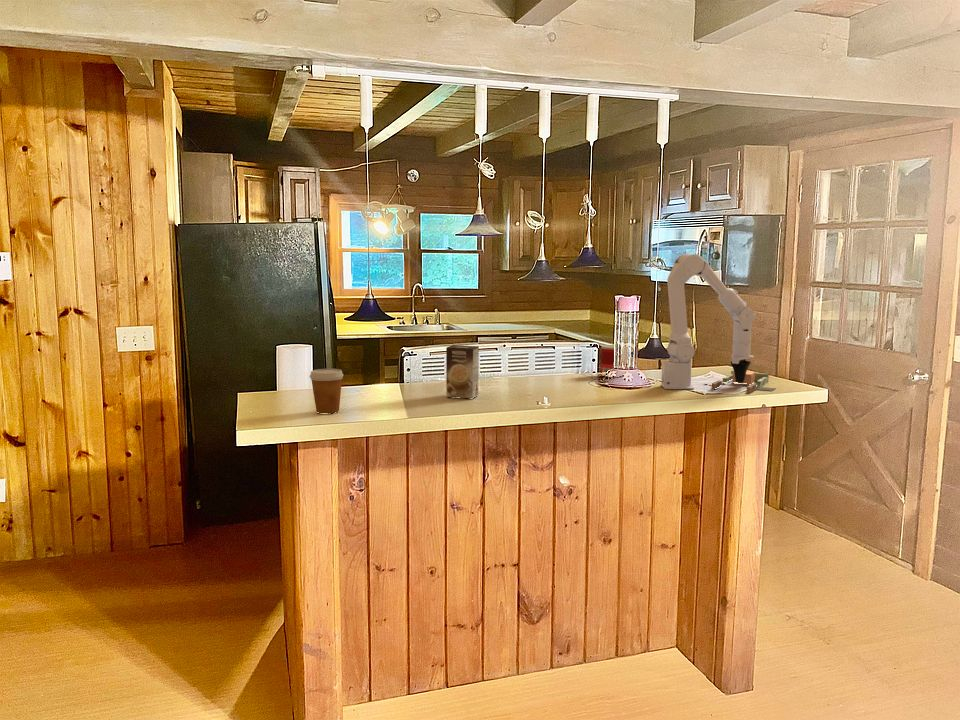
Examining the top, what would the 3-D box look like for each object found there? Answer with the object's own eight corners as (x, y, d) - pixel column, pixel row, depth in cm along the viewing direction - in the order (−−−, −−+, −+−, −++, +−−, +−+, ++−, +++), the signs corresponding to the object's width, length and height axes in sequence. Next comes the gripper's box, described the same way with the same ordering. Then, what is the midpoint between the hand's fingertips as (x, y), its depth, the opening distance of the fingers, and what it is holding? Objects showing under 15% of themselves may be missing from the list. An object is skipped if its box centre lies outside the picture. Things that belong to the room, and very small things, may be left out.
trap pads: (772, 391, 247) (772, 390, 247) (703, 384, 260) (703, 384, 260) (775, 388, 252) (775, 388, 252) (707, 382, 264) (707, 382, 264)
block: (750, 386, 258) (751, 374, 257) (732, 384, 261) (733, 373, 260) (754, 383, 263) (755, 372, 262) (736, 382, 266) (737, 370, 265)
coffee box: (445, 398, 239) (444, 347, 236) (452, 394, 245) (451, 344, 242) (473, 399, 236) (472, 348, 234) (479, 396, 242) (479, 345, 240)
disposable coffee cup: (346, 408, 224) (345, 368, 222) (342, 415, 214) (341, 373, 213) (313, 409, 224) (312, 368, 222) (308, 416, 214) (306, 373, 212)
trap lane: (750, 393, 244) (750, 384, 244) (711, 389, 251) (711, 380, 250) (768, 382, 264) (768, 373, 263) (731, 379, 271) (732, 370, 270)
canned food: (624, 378, 274) (625, 347, 272) (602, 378, 274) (602, 347, 273) (621, 374, 282) (621, 344, 280) (599, 374, 282) (599, 344, 280)
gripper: (748, 345, 246) (746, 386, 248) (759, 340, 258) (757, 380, 260) (726, 343, 250) (724, 384, 252) (738, 339, 262) (736, 378, 264)
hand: (739, 382), depth 256 cm, fingers closed
